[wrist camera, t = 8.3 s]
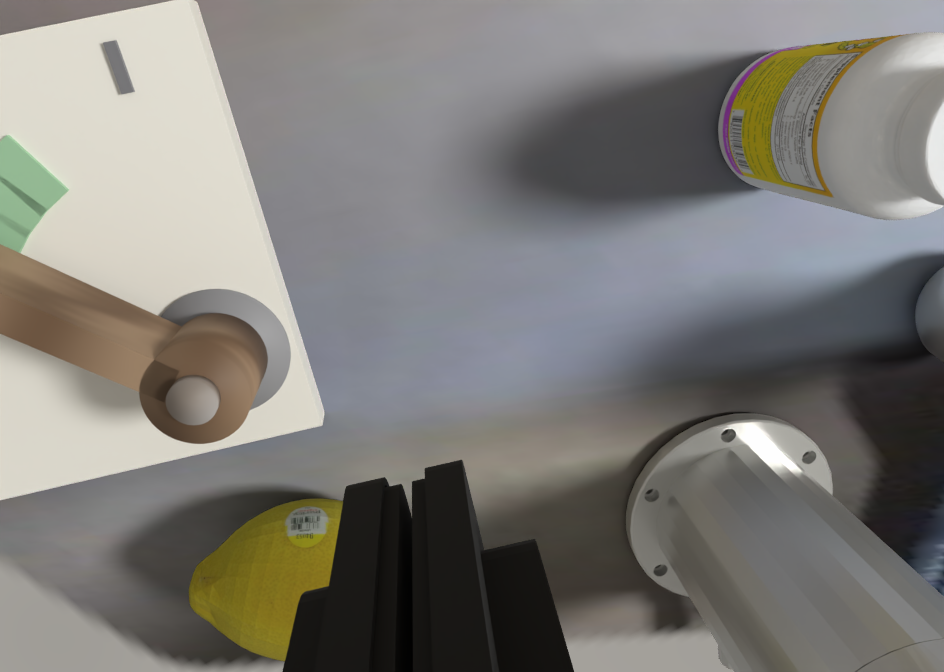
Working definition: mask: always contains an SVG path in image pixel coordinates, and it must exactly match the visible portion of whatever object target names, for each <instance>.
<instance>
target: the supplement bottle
mask: <svg viewBox="0 0 944 672" xmlns="http://www.w3.org/2000/svg"><path fill="white" fill-rule="evenodd" d="M718 136H719V144H720V148H721V151H722V154H723V157H724V159H725V161H726V162H727V164H728V166H729V167H730V168H731V170H732V171H733V172H734V173H735V174H736V175H737V176H738V177H739V178H740V179H742V180H743V181H745V182H746V183H748V184H750V185H753V186H755V187H758V188H762V189H765V190H769V191H773V192H776V193H779V194H783V195H787V196H792V197H796V198H799V199H803V200H807V201H811V202H815V203H819V204H823V205H827V206H831V207H835V208H838V209H842V210H846V211H850V212H853V213H857V214H861V215H864V216H868V217H872V218H876V219H883V220H903V219H911V218H915V217H919V216H922V215H926V214H928V213H931V212H933V211H936V210H938V209H940V208H942V207H943V206H944V33H935V32H928V33H914V34H906V35H898V36H888V37H880V38H870V39H861V40H853V41H842V42H834V43H825V44H816V45H807V46H797V47H791V48H785V49H780V50H777V51H774V52H771V53H769V54H766V55H764V56H762V57H761V58H759V59H757V60H756V61H754V62H753V63H752V64H750V65H749V66H748V67H747V68H746V69H745V70H744V71H743V72H742V73H741V74H740V75H739V76H738V77H737V78H736V80H735V81H734V82H733V84H732V86H731V87H730V89H729V91H728V93H727V95H726V97H725V99H724V102H723V105H722V108H721V112H720V117H719V124H718Z"/></svg>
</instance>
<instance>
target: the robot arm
mask: <svg viewBox="0 0 944 672" xmlns="http://www.w3.org/2000/svg"><path fill="white" fill-rule="evenodd" d="M832 494H833V485H832V476H831V471H830V468H829V466H828V463H827V460H826V458H825V456H824V455H823V453H822V452H821V450H820V449H819V447H818V446H817V445H816V444H815V443H814V442H813V441H812V440H811V439H810V438H809V437H807V436H806V435H805V434H804V433H803V432H802V431H800V430H799V429H797V428H796V427H794V426H793V425H792V424H790V423H788V422H786V421H783V420H781V419H778V418H776V417H773V416H768V415H762V414H756V413H739V414H730V415H725V416H720V417H715V418H712V419H710V420H707V421H704V422H702V423H699V424H696V425H694V426H692V427H691V428H689V429H687V430H685V431H684V432H682V433H680V434H678V435H677V436H675V437H674V438H673V439H672V440H670V441H669V442H668V443H667V444H665V445H664V446H663V447H662V448H660V450H659V451H658V452H657V453H656V454H655V455H654V456H653V457H652V458H651V459H650V460H649V462H648V463H647V464H646V466H645V467H644V469H643V470H642V472H641V473H640V475H639V476H638V478H637V480H636V482H635V484H634V487H633V489H632V492H631V494H630V496H629V501H628V506H627V511H626V532H627V536H628V540H629V544H630V547H631V549H632V551H633V553H634V555H635V557H636V559H637V561H638V562H639V564H640V565H641V567H642V568H643V570H644V571H645V572H646V574H647V575H648V576H649V577H650V578H651V579H653V580H654V581H655V582H656V583H657V584H658V585H660V586H662V587H664V588H665V589H667V590H669V591H671V592H673V593H676V594H679V595H683V596H686V597H690V599H691V600H692V602H693V604H694V605H695V607H696V609H697V610H698V612H699V614H700V615H701V617H702V619H703V620H704V622H705V624H706V625H707V627H708V629H709V630H710V632H711V634H712V635H713V637H714V639H715V640H716V642H717V644H718V654H719V659H720V661H721V663H722V664H723V665H724V666H726V667H727V668H728V669H732V670H734V672H944V597H943V596H942V595H941V594H940V593H939V592H938V591H937V590H936V589H934V588H933V587H932V586H931V585H930V584H929V583H928V582H927V581H926V580H925V579H923V578H922V577H921V576H920V575H919V574H918V573H917V572H916V571H915V570H914V569H912V568H911V567H910V566H909V565H908V564H907V563H906V562H905V561H904V560H903V559H902V558H900V557H899V556H898V555H897V554H896V553H895V552H894V551H893V550H892V549H891V548H889V547H888V546H887V545H886V544H885V543H884V542H883V541H882V540H881V539H880V538H878V537H877V536H876V535H875V534H874V533H873V532H872V531H871V530H870V529H869V528H868V527H866V526H865V525H864V524H863V523H862V522H861V521H860V520H859V519H858V518H857V517H855V516H854V515H853V514H852V513H851V512H850V511H849V510H848V509H847V508H846V507H844V506H843V505H842V504H841V503H840V502H839V501H838V500H837V499H836V498H835V497H834V496H832ZM283 672H574V670H573V666H572V663H571V659H570V656H569V652H568V649H567V646H566V642H565V639H564V635H563V632H562V628H561V625H560V622H559V618H558V615H557V611H556V608H555V605H554V601H553V598H552V594H551V591H550V587H549V584H548V581H547V577H546V574H545V570H544V567H543V563H542V560H541V557H540V553H539V550H538V546H537V543H536V541H535V539H532V540H528V541H523V542H519V543H514V544H510V545H506V546H501V547H497V548H493V549H488V550H484V548H483V544H482V539H481V535H480V531H479V527H478V523H477V518H476V514H475V510H474V506H473V502H472V498H471V493H470V489H469V485H468V481H467V477H466V472H465V468H464V465H463V461H462V460H459V461H454V462H450V463H446V464H441V465H437V466H432V467H428V468H425V479H421V480H416V481H413V482H412V517H411V513H410V510H409V506H408V502H407V499H406V495H405V492H404V489H403V486H402V485H401V484H399V485H394V486H390V487H389V484H388V482H387V480H386V478H385V477H384V478H379V479H375V480H371V481H366V482H362V483H357V484H353V485H349V486H346V489H345V494H344V500H343V506H342V511H341V517H340V523H339V529H338V535H337V540H336V546H335V552H334V558H333V564H332V570H331V575H330V581H329V586H327V587H323V588H318V589H314V590H310V591H305V592H304V593H303V594H302V595H301V597H300V600H299V603H298V606H297V611H296V615H295V619H294V624H293V628H292V633H291V637H290V641H289V646H288V650H287V655H286V659H285V663H284V668H283Z"/></svg>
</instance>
